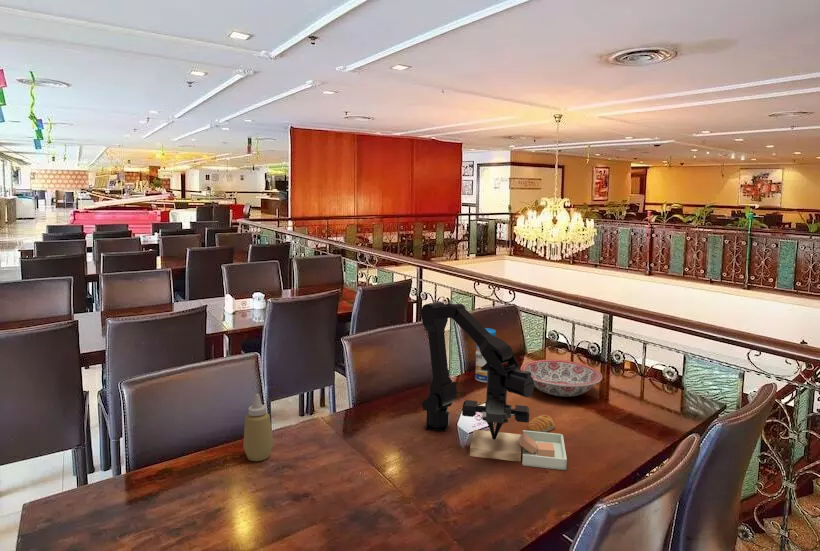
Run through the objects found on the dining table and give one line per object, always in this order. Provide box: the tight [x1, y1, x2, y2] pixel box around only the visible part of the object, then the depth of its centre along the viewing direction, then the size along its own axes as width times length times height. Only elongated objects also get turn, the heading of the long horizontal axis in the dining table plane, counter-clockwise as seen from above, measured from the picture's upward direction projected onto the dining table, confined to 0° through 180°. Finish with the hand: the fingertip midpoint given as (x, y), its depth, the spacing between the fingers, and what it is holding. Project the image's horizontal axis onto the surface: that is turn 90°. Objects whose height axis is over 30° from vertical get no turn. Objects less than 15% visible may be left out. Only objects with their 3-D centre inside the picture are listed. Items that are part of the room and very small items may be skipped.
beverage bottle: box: [474, 327, 497, 383], centre depth 216 cm, size 8×8×20 cm
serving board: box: [469, 429, 522, 463], centre depth 158 cm, size 14×12×2 cm
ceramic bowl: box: [520, 359, 603, 397], centre depth 204 cm, size 29×29×8 cm
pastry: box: [526, 414, 556, 433], centre depth 172 cm, size 9×7×4 cm
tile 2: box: [537, 442, 555, 457], centre depth 156 cm, size 4×4×2 cm
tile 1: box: [519, 432, 537, 454], centre depth 157 cm, size 4×4×2 cm
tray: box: [521, 429, 568, 471], centre depth 156 cm, size 12×16×3 cm
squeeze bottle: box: [242, 393, 274, 462], centre depth 150 cm, size 8×8×18 cm
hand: (494, 438), depth 158 cm, fingers closed
